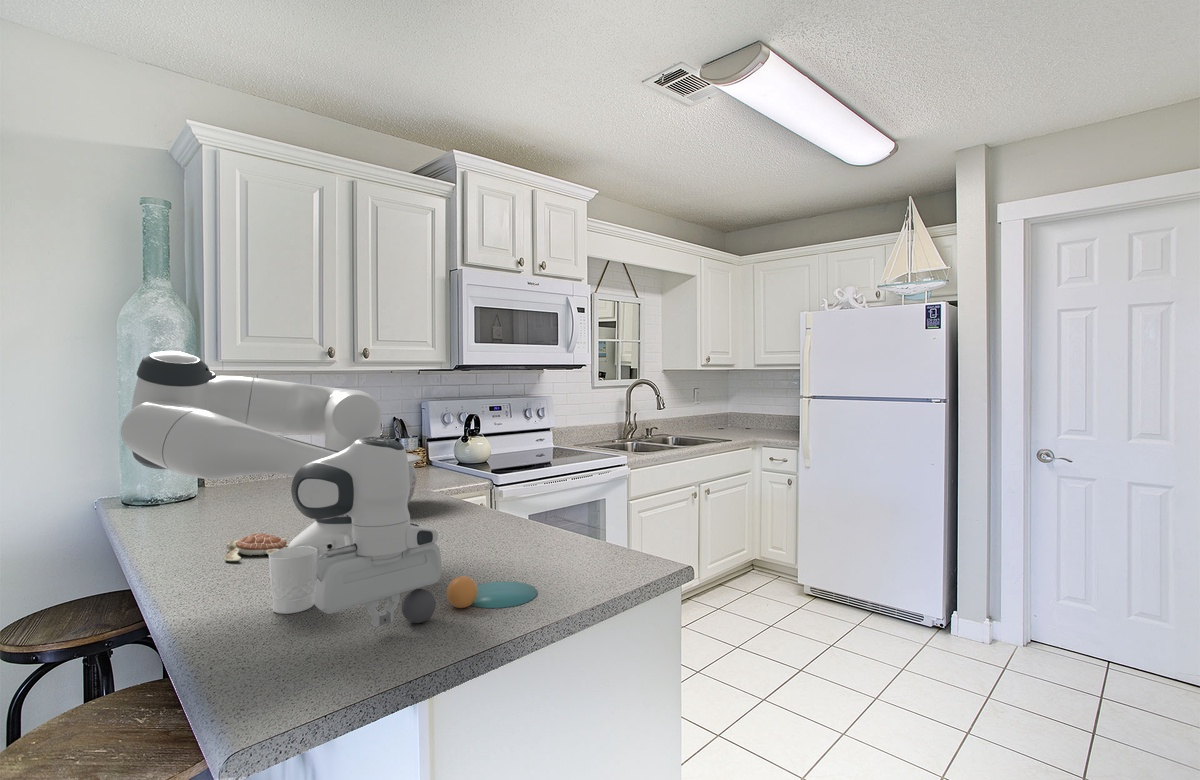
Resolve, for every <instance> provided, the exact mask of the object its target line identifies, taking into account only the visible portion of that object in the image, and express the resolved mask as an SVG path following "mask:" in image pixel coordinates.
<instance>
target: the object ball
mask: <svg viewBox="0 0 1200 780" xmlns="http://www.w3.org/2000/svg"><path fill="white" fill-rule="evenodd" d="M446 587H447V588H446V594H445V595H446V599H447V601H448V603H449V604H450V605H451V606H452V607H454V608H457V609H465V608H468V607H470V606H472V605H471V604H472V603H473V602H474V601H475V599H476V597H477V594H478V588H477V582H475V580H474V579H473V578H471V577H469V576H468V575H467V576H466V575H461V576H457V577H455V578H454V579H452V580H451V581H450V582H449V584H448V586H446Z"/></svg>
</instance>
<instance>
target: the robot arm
mask: <svg viewBox="0 0 1200 780" xmlns="http://www.w3.org/2000/svg"><path fill="white" fill-rule="evenodd" d="M136 376H137V379H136V383H135V387H134V391H133V397H132V401H131V402H132V403H131V410H129V411H128V413H126V416H124V418H123V420H122V423H121V426H120V435H121V439H122V442H123V443H124V445H125V446H126V447H127V448H128V449H129V450H130V451H131V452H132V456H133V458H134V459H135V460H136V461H137V462H138V463H140V465H142V466H144V467H147V468H148V469H149V468H150V469H156V470H169V471H172V472H175V473H178V474H179V475H180V474H181V475H183V476H186V477H191V478H197V479H204V480H212V481H213V480H214V481H215V480H216V481H217V480H218V481H219V480H227V479H234V478H241V477H247V476H255V475H267V474H268V475H271V474H274V475H283V476H289V477H293V478H292V482H291V487H290V489H291V490H290V491H291V492H290V493H291V499H292V501H293V503H294V505H295V507H296V509H297V510H298V511H299V512H300V513H301V514H302V515H303V516H305V517H307V518H309V519H311V520H312V519H313V520H315V521H314V522H313V523H311V524H310V525H309V526H307V527H306V528H305V529H304V530H303V531H301V532H300V533H299V534H297V535H296V536H295V537H294V538H293V539H292V540H291V541H290V542H289V543H290V544H289V546H288V547H287V548H290V547H300V546H308V547H315V548H317V549H318V553H317V561H316V589H315V604H314V606H315V607H316V608H317V609H318V610H320V611H321V612H323V613H325V614H328V615H330V614H334V613H338V612H340V611H344V610H347V609H351V608H354V607H357V606H362V605H363V606H364V607H365V609H366V610H367V612H368V613H369V614H370V624H371V626H372V627H374V628H378V627H381V626H385V625H388V624H391V623H393V622H394V612H395V611H396V609H397V607H398V604H399V603H400V601H401V597H400V596H401V594H404V593H406V592H411V591H413V590H416V589H422V588H424V587H428V586H431V585H435V584H437V583H438V582H439V580H440V579H441V577H442V572H443V571H442V568H443V567H442V556H441V555H442V554H441V549H440V547H439V545H438V544H437V543H436V542H438V539H439V532H438V531H437V530H436V529H434V528H431V527H429V526H424V525H421V524H418V523H417V524H416V523H413V522H412V523H411V514H410V511H409V506H408V505H407V501H408V497H409V493H410V480H409V465H408V458H407V454H406V453H407V451H406V448H405V446H404V445H403V444H402V443H401V442H398V441H397V440H395V439H391V438H388V437H381V429H382V410H381V406H380V404H379V402H378V401H377V400H376V398H375V397H374V396H373V395H371V394H370V393H368V392H365V391H363V390H360V389H358V390H357V389H348V388H347V389H346V388H339V387H333V386H332V387H331V386H323V385H316V384H315V385H314V384H307V383H299V382H290V381H283V380H277V379H276V380H275V379H267V378H259V377H252V376H239V375H216V373H214V372H213V371H212V370H210V369H209V366H208V364H207V363H205V362H204V361H203V360H202V359H200V358H199V357H197V356H195V355H192V354H189V353H186V352H182V351H177V350H165V351H156V352H155V351H154V352H151V353H150V354H149V353H148V355H146V356H143V357H142V359H141V361H140V363H139V365H138V367H137V371H136ZM278 434H279V435H278ZM282 435H288V436H289V435H292V436H293V435H295V436H313V437H315V436H316V437H317V436H318V437H320V436H321V437H324V446H318V445H316V444H312V443H308V442H305V441H301V440H297V439H293V438H289V437H285V436H282ZM382 599H386V600H387V602H386V604H385V607H384V608H383V610H381V611H378V609H377V608H376V607H378V606H379V604H380V603H379V602H380V601H379V600H382Z"/></svg>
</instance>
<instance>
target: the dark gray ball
mask: <svg viewBox="0 0 1200 780" xmlns="http://www.w3.org/2000/svg"><path fill="white" fill-rule="evenodd" d="M436 603H437V602H436V598H435V597H434V595H433V593H431V591H429V590H427V589H425V588H417V589H414V590H410V591H409V593H407V594H406V596H405V597H404V598H403V600H402V604H401V612H402V614H403V616H404V618H405V619H406V620H407V621H408V622H410V623H413V624H421V623H425V622H427V621H428V620H429V619H431V617H432V616H433V615H434V613H435V611H436V607H437V605H436Z"/></svg>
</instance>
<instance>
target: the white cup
mask: <svg viewBox="0 0 1200 780" xmlns="http://www.w3.org/2000/svg"><path fill="white" fill-rule="evenodd" d="M317 553H318V549H317V548H315V547H308V546H300V547H290V548H288V547H284V548H283V549H280V550H277V551H274V552H272V553H270V554H269V555H268V564H269V566H268V567H269V581H270V590H271V591H270V592H271V593H270V594H271V597H272V610H273V612H274V613H277V614H285V615H288V614H296V613H300V612H304V611H307V610H309V609H311V608H312V607H313V606H315V589H316V581H317V579H316V561H317Z"/></svg>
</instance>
